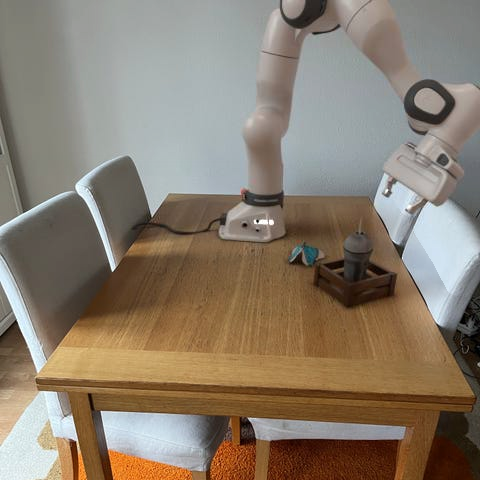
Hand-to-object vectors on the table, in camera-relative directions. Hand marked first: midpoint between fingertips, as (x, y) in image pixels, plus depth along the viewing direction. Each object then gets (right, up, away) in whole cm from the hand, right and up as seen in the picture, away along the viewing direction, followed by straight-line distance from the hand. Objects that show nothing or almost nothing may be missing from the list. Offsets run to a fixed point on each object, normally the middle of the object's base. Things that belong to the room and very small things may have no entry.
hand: (396, 204), depth 119 cm
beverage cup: (-10, -21, +5) cm, 24 cm away
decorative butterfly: (-20, -12, +22) cm, 32 cm away
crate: (-10, -21, +5) cm, 24 cm away
